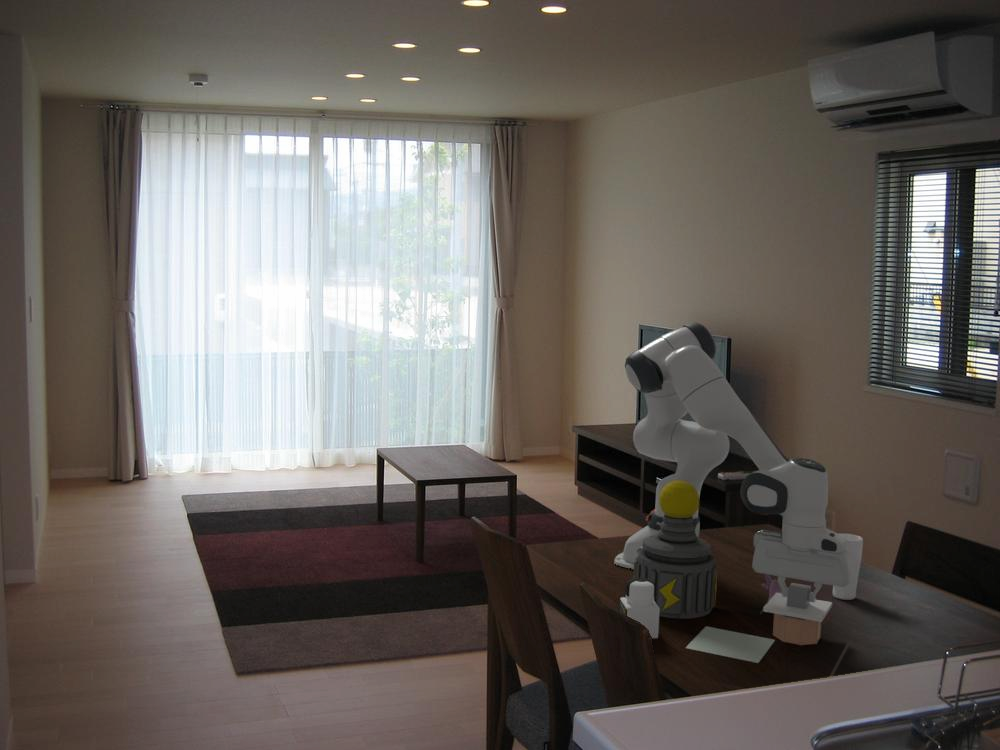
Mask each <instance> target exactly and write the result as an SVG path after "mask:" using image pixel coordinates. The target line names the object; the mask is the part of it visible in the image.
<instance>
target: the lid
mask: <svg viewBox="0 0 1000 750" xmlns="http://www.w3.org/2000/svg"><path fill="white" fill-rule="evenodd" d="M787 588H788V595H787V598H786V597H782V593H775V595H774V596H773V597H772V598H771V599H770V600H769V602H768V603H767V604H766V605H765V604H764V605H765V606H764V605H763V607H764V608H763V607H762V609H763V612H764V613H770V614H774V613H775V614H780V615H786V616H791V617H797V618H802V619H807V620H813V621H818V622H823V620H824V619H825V618H826V616H827V615H828V613H829V611H830V610H831V608H832V607H833V602H831V601H826V600H821V599H820V600H819V599H816V601H815V603H814V602H809V601H808V593H809V592H812V590H811V589H812V585H807V584H801V583H795V582H791V583H790V584H789V586H787Z"/></svg>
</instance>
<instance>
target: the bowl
mask: <svg viewBox="0 0 1000 750" xmlns="http://www.w3.org/2000/svg"><path fill="white" fill-rule="evenodd" d="M822 622H823V621H822ZM822 622H818V621H813V620H807V619H802V618H797V617H791V616H786V615H780V614H775V613H773V623H772V624H773V625H772V628H773V629H772V636H773V637H775V638H777V639H778V640H780V641H781V642H783V643H787V644H788V643H789V644H792V645H793V644H794V645H799V646H805V645H817V644H818V642H819V640H821V638H822V637H821V634H822Z"/></svg>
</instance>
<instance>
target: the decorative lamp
mask: <svg viewBox="0 0 1000 750" xmlns="http://www.w3.org/2000/svg"><path fill="white" fill-rule="evenodd" d="M659 503H660V507H661V510H662V511H663V512H664V517H663V520H664V521H663V522H662V523H661V526H660V527H661V529H660V530H659V532H658V534H655V535H652V536H649V537H646V538H645V539H644V540H643V544H642V546H643V549H641V550H640V551H639V552H638V557H637V558H636V559H635V562H634V569H633V578H646V579H649V580H651V581H653V582H654V584H655V593H654V601H655V603H656V604H657V606H658V607H659V609H660V611H659V617H663V618H669V619H683V620H684V619H686V620H687V619H696V618H703V617H705V616H707V615H709V614H710V613H711V612H712V611H713V608H714V607H715V605H716V599H717V597H716V595H717V588H718V587H717V583H718V582H717V579H718V571H719V570H718V569H719V568H718V567H717V565H716V564H715V556H713V554H711V553H712V545H711V544H710V543H709V542H707V540H704V539H702V538H701V537H699V536H698V537H697V536H696V533H695V532H694V530H695V527H694V524H692V522H693V517H692V516H693V515H694V514H695V513H696V511H697V509H698V510H699V508H700V507H699V506H700V498H699V496H698V493H697V490H696V489H695V488H694V486H693V485H691V484H689V483H688V482H686V481H681V480H675V481H672V482H670V483H668V484H667V485H666V486H665V487H664V488H663V489H662V491H661V493H660V497H659Z"/></svg>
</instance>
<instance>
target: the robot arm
mask: <svg viewBox="0 0 1000 750" xmlns="http://www.w3.org/2000/svg"><path fill="white" fill-rule="evenodd" d="M714 340H715V339H714V338H713V335H712V334H711V332H710V331H709V329H707V327H706V326H705V325H703V324H701V323H699V322H691V323H687V324H684V325H683V326H681V327H680V328H677V329H676V328H675V329H674V330H671V331H670V332H667V333H664V334H661V336H659V337H658V338H656V339H654V340H652V341H651V342H649V343H647V344H645V345H644V346H643V347H641V348H640V349H637V350H634V351H633V352H632V353H631V354H629V355H628V356H627V357H626V358H625V361H624V363H625V364H624V368H625V373H626V377H627V379H628V381H629V382H630V384H631V385H632V386H633V387H634V388H635V390H636V391H638V392H640V393H643V395H644V398H645V402H646V406H647V407H646V408H647V415H646V416H645V417H644V418H642V419H641V420H640V421H638V423H637V424H636V426H635V427H634V430H633V435H632V442H633V445H634V447H635V449H636V451H637V453H639V454H640V455H644V456H646V457H648V458H651V459H654V460H661V461H664V462H665V461H666V462H673V463H676V464H677V467H676V470H675V472H674V473H673V474H670V475H668V476H666V477H664V478H662V479H660V481H659V482H658V484H657V486H656V491H655V505H654V506H655V508H654V509H653V510H651V511H650V513H649V514H647V516H646V517H645V522H646V523H647V525H646V526H645V527H642V529H639V530H638V531H637V532H635V533H634V534H632V535H631V536H629V537H628V538H627V540H626V541H625V544H624V548H623V551H622V552H621V553H619V554H617V555H616V556H615V557H614V562H613V563H614V565H615V564H616V566H618V565H619V566H618V567H623V568H626V569H630V568H631V570H634V562H635V559H636V558H637V557H638V552H639V551H640V550H641V549H643V546H642V544H643V540H644V539H645V538H646V537H649V536H652V535H655V534H658V532H659V530H660V529H661V527H660V526H661V523H662V522H663V521H664V520H663V517H664V512H663V511H662V510H661V507H660V503H659V497H660V493H661V491H662V489H663V488H664V487H665V486H666V485H667V484H668V483H670V482H672V481H675V480H681V481H686V482H688V483H689V484H691V485H693V486H694V488H695V489H696V490H697V493H698V496H699V499H700V498H701V497H700V496H701V490H702V486H703V483H704V481H705V479H706V477H707V476H708V475H709V473H710V472H712V470H714V468H716V467H718V466H719V465H721V464H722V463H723V462H724V461H725V459H726V458H727V457H728V455H729V452H730V446H731V445H730V438H732V439H734V440H735V441H736V442H737V443H738V444H739V445H740V446H741V447H742V449H744V451H745V453H746V454H747V455H748V456H749V457H750V459H751V460H752V461H753V463H754V465H755V466H756V467H757V468H758V470H756V471H753V472H751V473H750V474H748V475H746V477H744V479H743V481H742V482H741V486H740V498H741V500H742V503H743V504H744V506H745V507H746V508H747V509H748V510H749V511H750V512H752V513H753V514H757V515H766V516H767V515H780V516H782V526H781V527H782V528H781V531H773V530H772V531H771V530H768V529H761V530H759V531H756V532H755V533H754V536H753V540H752V541H753V547H754V552H753V557H752V565H751V568H752V569H753V571H754V572H755V573H758V574H762V575H763V574H768V575H769V576H776V577H777V582H778V583H779V585H780V587H781V589H782V597H786V598H787V595H788V586H787V584H786V582H785V581H786V580H787V578H788V579H793V580H800V581H806V582H811V583H813V587H814V588H815V589H814V590H813V591H811V592H809V593H808V601H809V602H814V603H815V601H816V600H817V594H818V592H820V590H821V588H822V587H823V584H824V585H827V586H828V585H830V586H833V585H834V586H840V587H846V586H847V585H848V584H849V583H850V581H851V560H850V555H849V553H848V551H847V550H846V547H847V538H846V537H844V536H842V535H840V534H841V533H837V532H835V531H833V530H831V529H829V528H827V519H826V509H827V507H828V503H829V477H828V472H827V469H826V467H824V465H822V464H821V463H820V462H817V461H815V460H813V459H809V458H803V457H794V458H791V459H789V458H788V457H787V456H786V455H785V454H784V453H783V452H782V451H781V450H780V448H779V447H778V445H777V444H776V443H775V441H774V440H773V438H771V436H770V434H768V432H767V431H766V430H765V428H764V426H762V424H761V423H760V422H759V420H758V419H757V418H756V417H755V415H754V414H753V413H752V412H751V411H750V410H749V408H748V407H747V406H746V405H745V403H743V402H742V400H741V399H740V397H739V396H738V394H737V393H736V392H735V390H734V389H733V387H732V386H731V384H730V383H729V382H728V380H727V378H726V377H725V375H724V374H723V372H722V371H721V370H720V369H721V368H719V366H717V364H716V363H715V362H714V360H713V359H714V358H715V356H716V351H717V347H716V343H715V341H714ZM687 414H689V415H690V417H691V418H692V420H694V421H691V420H684V419H682V418H683V417H685V416H686V415H687ZM729 437H730V438H729ZM692 517H693V522H692V524H694V527H695V530H694V532H695V533H696V536H697V537H698V538H699V535H700V528H701V527H700V524H701V523H700V515H699V508H698V509H697V511H696V513H695V514H694V515H693V516H692Z"/></svg>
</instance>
